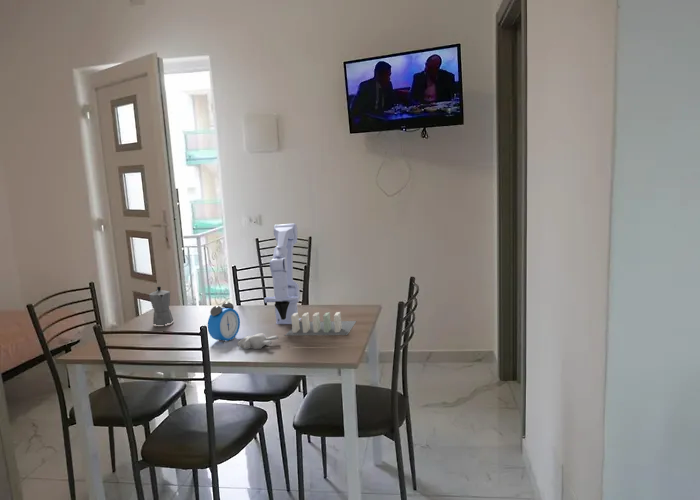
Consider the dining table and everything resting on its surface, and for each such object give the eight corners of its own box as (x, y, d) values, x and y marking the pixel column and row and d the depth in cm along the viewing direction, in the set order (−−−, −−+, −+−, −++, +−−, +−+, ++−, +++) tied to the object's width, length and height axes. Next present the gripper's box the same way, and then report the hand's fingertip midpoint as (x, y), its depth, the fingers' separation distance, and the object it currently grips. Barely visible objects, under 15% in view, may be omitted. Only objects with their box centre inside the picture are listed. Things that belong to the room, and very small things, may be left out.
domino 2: (303, 332, 224) (301, 316, 223) (306, 328, 229) (305, 312, 228) (306, 332, 224) (305, 315, 223) (310, 328, 229) (308, 312, 228)
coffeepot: (176, 325, 250) (171, 287, 248) (154, 329, 246) (149, 290, 244) (171, 318, 264) (166, 281, 261) (150, 322, 260) (145, 285, 257)
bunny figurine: (245, 332, 217) (278, 329, 212) (248, 345, 218) (281, 342, 213) (232, 340, 209) (267, 337, 203) (235, 353, 209) (269, 350, 204)
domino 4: (324, 332, 222) (323, 315, 221) (327, 328, 227) (326, 312, 226) (328, 332, 222) (326, 315, 221) (331, 328, 227) (329, 312, 226)
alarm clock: (220, 345, 216) (216, 308, 214) (208, 344, 219) (204, 307, 217) (242, 335, 227) (238, 300, 225) (230, 334, 230) (226, 299, 228)
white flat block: (335, 332, 221) (333, 315, 220) (337, 328, 226) (336, 312, 225) (339, 332, 221) (337, 315, 220) (341, 328, 226) (340, 312, 225)
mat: (284, 336, 222) (284, 335, 222) (298, 322, 241) (298, 321, 240) (347, 335, 217) (347, 334, 217) (356, 321, 235) (356, 321, 235)
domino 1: (292, 332, 225) (291, 316, 224) (296, 328, 230) (294, 312, 229) (296, 332, 225) (294, 316, 224) (299, 328, 230) (298, 312, 228)
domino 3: (313, 332, 223) (312, 315, 222) (316, 328, 228) (315, 312, 227) (317, 332, 223) (316, 315, 222) (320, 328, 228) (319, 312, 227)
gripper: (260, 289, 223) (263, 321, 225) (294, 288, 220) (297, 321, 222) (266, 285, 230) (269, 317, 232) (299, 284, 227) (302, 316, 229)
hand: (283, 318), depth 228 cm, fingers closed
